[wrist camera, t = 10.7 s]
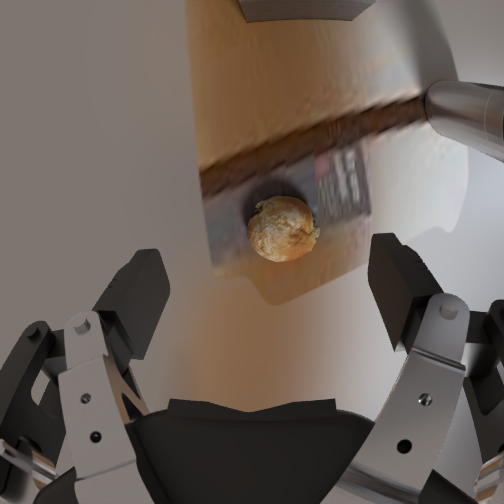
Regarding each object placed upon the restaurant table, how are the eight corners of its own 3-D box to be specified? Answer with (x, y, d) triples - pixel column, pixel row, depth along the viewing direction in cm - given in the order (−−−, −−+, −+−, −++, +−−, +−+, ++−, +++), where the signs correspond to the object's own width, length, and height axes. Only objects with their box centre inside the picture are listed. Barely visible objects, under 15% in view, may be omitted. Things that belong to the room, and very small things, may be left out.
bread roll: (280, 180, 43) (259, 184, 36) (334, 219, 41) (323, 231, 34) (251, 229, 48) (226, 241, 41) (299, 266, 46) (283, 286, 39)
